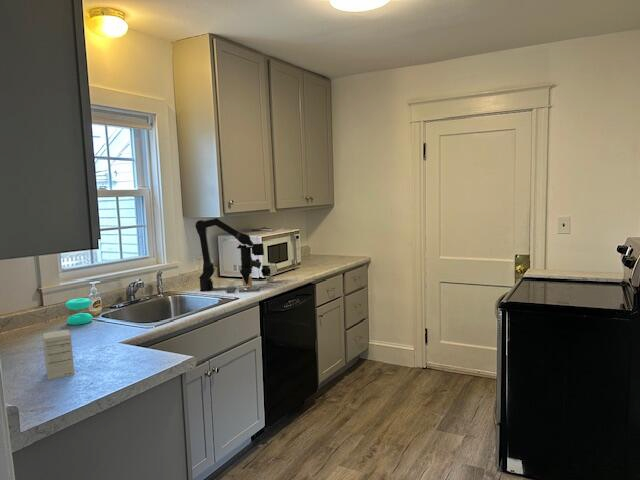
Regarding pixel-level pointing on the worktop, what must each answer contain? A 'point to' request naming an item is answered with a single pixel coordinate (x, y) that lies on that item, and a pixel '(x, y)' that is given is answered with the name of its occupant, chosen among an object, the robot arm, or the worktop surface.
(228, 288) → the ram rail
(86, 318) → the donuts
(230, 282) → the block
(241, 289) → the plate
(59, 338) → the supplement box
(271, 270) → the pneumatic valve
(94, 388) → the worktop surface
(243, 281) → the block
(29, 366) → the worktop surface
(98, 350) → the worktop surface
